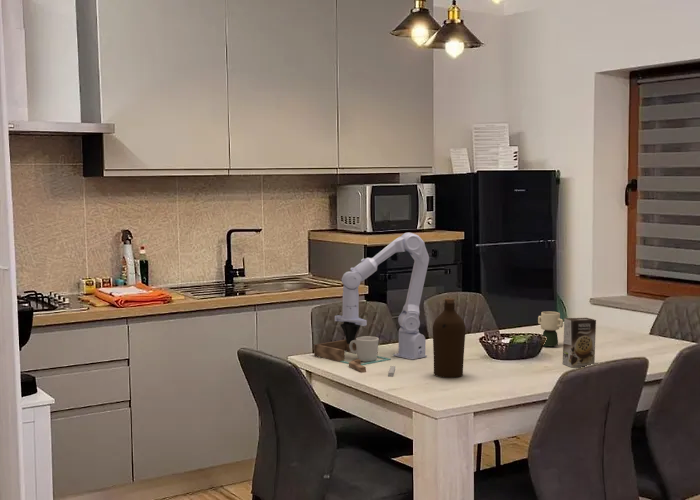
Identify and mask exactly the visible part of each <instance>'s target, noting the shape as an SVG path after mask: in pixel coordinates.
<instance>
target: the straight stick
mask: <svg viewBox="0 0 700 500" xmlns="http://www.w3.org/2000/svg"><path fill="white" fill-rule="evenodd" d="M388 370H389V371H388V377H394V376H395V371H396V365H390V367H389V369H388Z"/></svg>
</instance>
